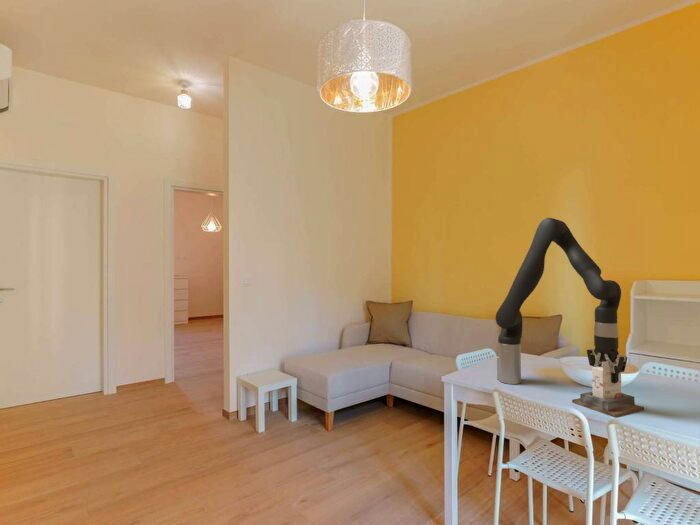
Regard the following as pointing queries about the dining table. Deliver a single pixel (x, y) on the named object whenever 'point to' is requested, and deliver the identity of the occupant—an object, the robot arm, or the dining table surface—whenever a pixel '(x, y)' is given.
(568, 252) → the robot arm
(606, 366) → the ink cartridge box
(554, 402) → the dining table surface
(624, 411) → the socket plate
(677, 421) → the dining table surface
